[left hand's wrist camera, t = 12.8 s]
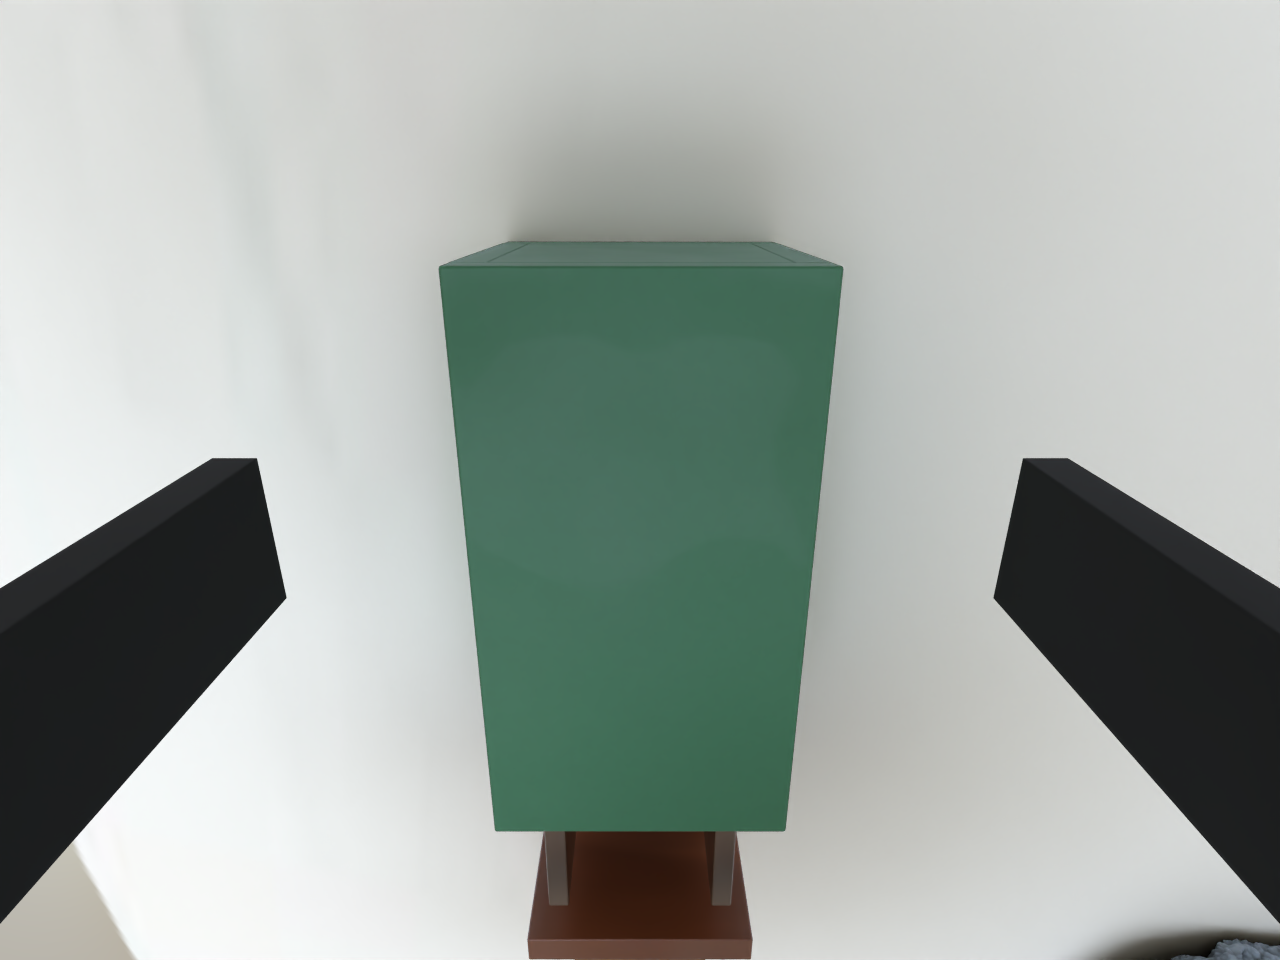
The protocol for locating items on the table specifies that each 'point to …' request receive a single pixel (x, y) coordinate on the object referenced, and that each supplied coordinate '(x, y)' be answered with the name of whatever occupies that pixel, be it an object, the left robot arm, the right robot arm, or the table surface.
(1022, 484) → the left robot arm
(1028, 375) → the table surface
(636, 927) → the drawer
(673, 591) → the cabinet
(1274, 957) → the koala plush
